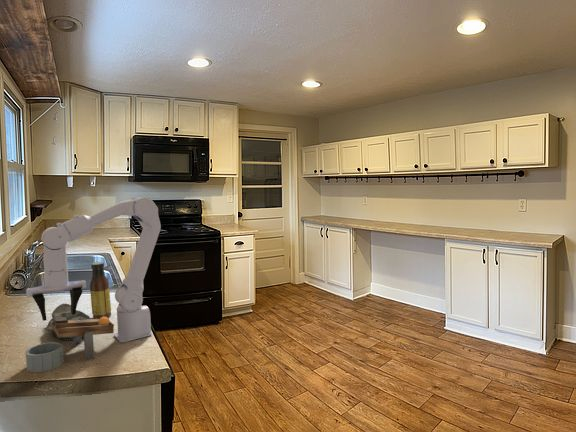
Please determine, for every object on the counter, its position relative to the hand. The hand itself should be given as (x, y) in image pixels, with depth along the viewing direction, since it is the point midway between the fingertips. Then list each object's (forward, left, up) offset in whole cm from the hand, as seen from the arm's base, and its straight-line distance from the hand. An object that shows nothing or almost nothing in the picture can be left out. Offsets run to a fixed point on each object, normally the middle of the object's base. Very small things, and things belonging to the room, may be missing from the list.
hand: (59, 316), depth 113 cm
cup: (+5, +6, -10) cm, 13 cm away
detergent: (-5, -19, -11) cm, 22 cm away
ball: (-10, +6, -2) cm, 12 cm away
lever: (-5, +3, -3) cm, 7 cm away
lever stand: (-5, +3, -10) cm, 12 cm away
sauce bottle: (-17, -24, -11) cm, 31 cm away
